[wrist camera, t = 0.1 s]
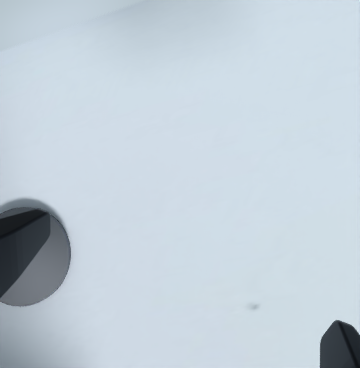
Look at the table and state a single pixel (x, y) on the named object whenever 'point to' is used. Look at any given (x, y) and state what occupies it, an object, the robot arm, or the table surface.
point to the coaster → (41, 267)
